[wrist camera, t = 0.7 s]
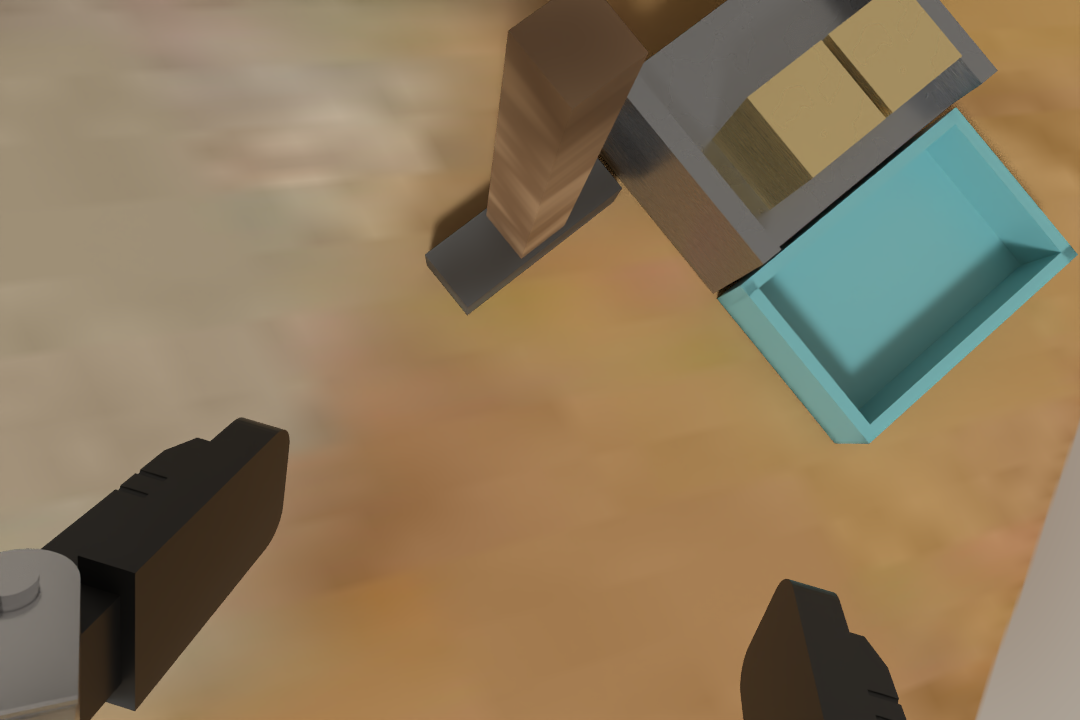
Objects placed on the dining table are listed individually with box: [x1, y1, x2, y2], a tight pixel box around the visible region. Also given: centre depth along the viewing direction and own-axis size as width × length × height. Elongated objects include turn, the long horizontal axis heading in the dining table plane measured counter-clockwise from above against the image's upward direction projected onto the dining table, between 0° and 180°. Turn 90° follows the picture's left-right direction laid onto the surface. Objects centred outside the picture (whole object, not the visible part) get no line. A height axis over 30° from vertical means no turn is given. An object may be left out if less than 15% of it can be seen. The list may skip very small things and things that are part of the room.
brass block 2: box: [823, 0, 962, 118], centre depth 31 cm, size 4×4×4 cm
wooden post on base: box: [425, 0, 648, 315], centre depth 27 cm, size 3×9×17 cm, turn 129°
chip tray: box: [717, 108, 1078, 444], centre depth 35 cm, size 9×14×3 cm, turn 129°
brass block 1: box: [712, 40, 886, 210], centre depth 31 cm, size 4×4×4 cm
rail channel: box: [600, 0, 998, 293], centre depth 34 cm, size 10×14×6 cm
